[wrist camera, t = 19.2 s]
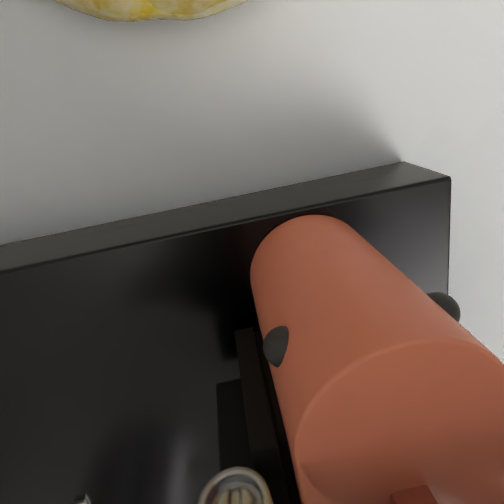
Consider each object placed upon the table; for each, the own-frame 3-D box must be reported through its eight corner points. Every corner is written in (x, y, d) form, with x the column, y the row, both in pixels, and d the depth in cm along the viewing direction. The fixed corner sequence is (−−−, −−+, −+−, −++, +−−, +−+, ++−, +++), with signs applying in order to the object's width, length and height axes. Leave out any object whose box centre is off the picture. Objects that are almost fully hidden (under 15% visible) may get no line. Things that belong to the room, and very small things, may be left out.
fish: (381, 438, 13) (515, 697, 7) (284, 461, 13) (346, 742, 7) (366, 201, 10) (590, 347, 4) (235, 229, 10) (281, 419, 4)
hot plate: (411, 503, 19) (443, 564, 16) (69, 587, 18) (48, 664, 16) (405, 160, 12) (457, 176, 10) (-138, 273, 11) (-232, 322, 9)
